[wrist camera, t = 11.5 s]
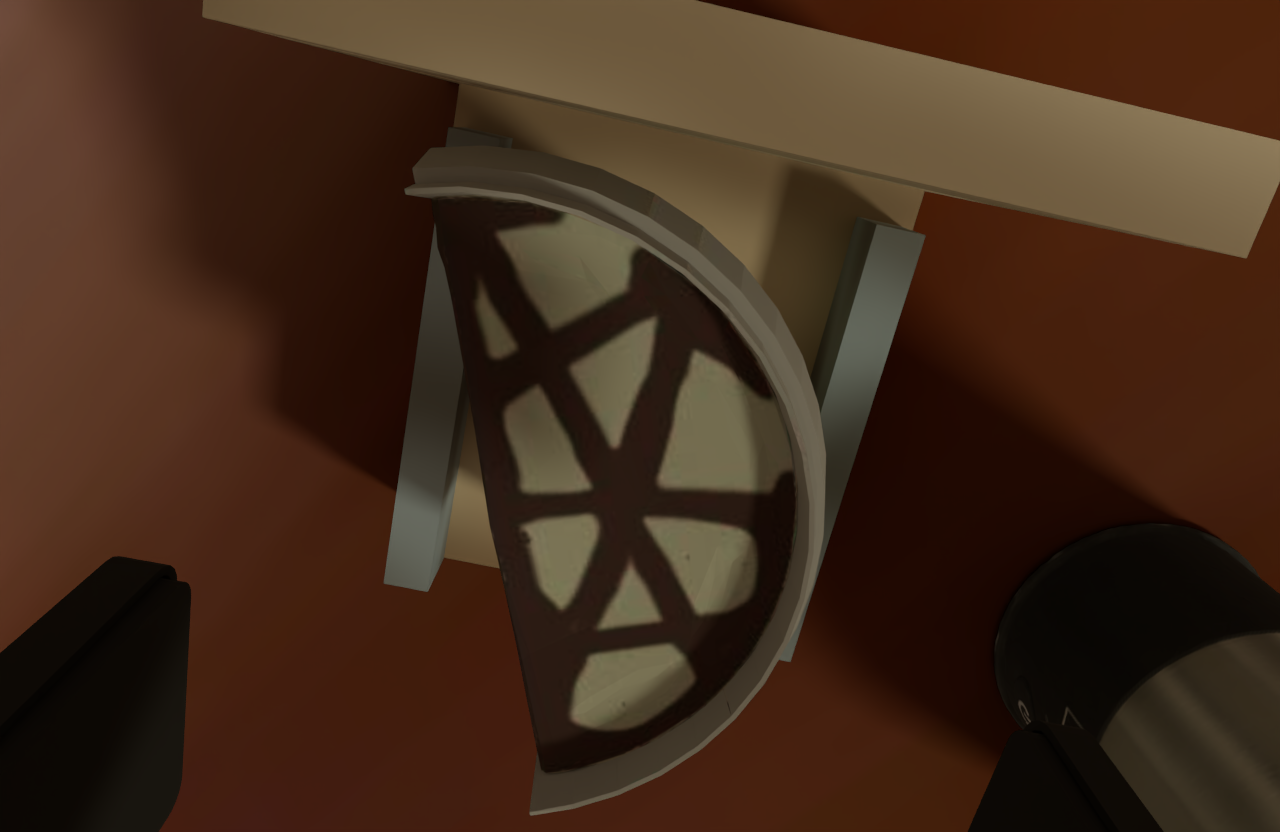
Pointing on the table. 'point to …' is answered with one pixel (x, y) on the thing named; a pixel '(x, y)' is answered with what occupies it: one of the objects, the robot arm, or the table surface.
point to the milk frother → (1157, 669)
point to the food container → (626, 458)
